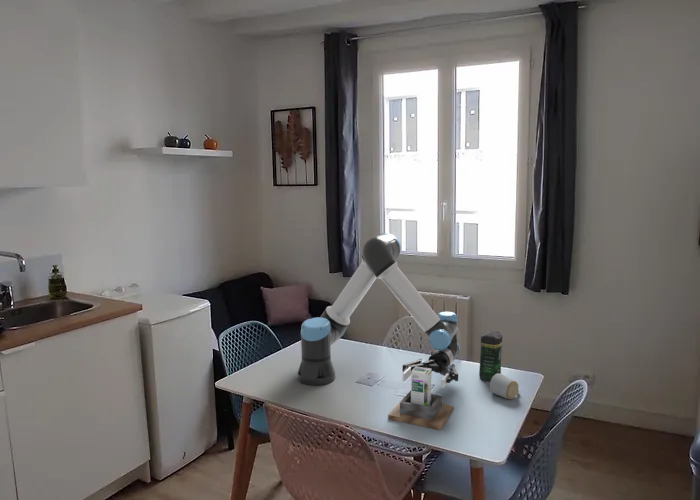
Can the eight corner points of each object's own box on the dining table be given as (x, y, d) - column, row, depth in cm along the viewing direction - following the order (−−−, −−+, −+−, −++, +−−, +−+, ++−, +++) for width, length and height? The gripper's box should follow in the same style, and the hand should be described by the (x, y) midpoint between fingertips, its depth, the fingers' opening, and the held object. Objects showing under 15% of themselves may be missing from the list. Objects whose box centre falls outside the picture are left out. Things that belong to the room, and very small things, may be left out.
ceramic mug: (507, 402, 190) (508, 382, 189) (488, 395, 196) (489, 375, 195) (524, 395, 197) (525, 375, 195) (505, 388, 203) (506, 369, 202)
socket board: (388, 419, 178) (388, 403, 177) (404, 400, 192) (404, 385, 192) (440, 429, 170) (440, 413, 170) (453, 409, 185) (453, 394, 184)
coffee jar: (497, 383, 207) (498, 337, 205) (477, 379, 211) (478, 334, 208) (503, 374, 216) (504, 330, 213) (483, 371, 219) (485, 327, 217)
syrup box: (410, 412, 180) (410, 371, 178) (415, 405, 185) (415, 365, 183) (426, 415, 177) (427, 373, 175) (431, 407, 183) (432, 367, 181)
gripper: (473, 375, 194) (458, 397, 175) (408, 364, 204) (388, 384, 186) (474, 355, 193) (459, 376, 174) (409, 345, 203) (388, 364, 184)
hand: (422, 380), depth 180 cm, fingers open, 13 cm apart
